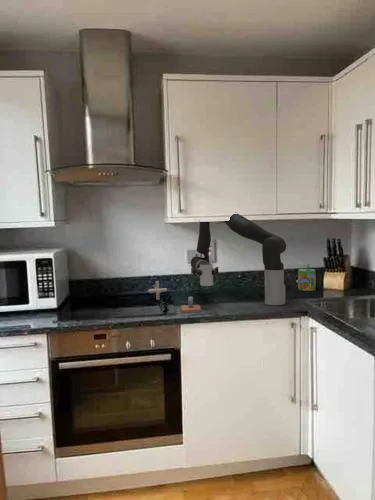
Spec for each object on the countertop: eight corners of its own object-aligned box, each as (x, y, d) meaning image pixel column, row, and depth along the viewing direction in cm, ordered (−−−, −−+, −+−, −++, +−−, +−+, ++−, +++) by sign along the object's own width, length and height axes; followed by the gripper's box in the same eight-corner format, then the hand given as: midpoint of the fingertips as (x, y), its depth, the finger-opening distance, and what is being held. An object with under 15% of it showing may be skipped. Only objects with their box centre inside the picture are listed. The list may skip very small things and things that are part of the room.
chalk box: (297, 287, 222) (297, 263, 220) (314, 288, 220) (313, 263, 218) (299, 291, 213) (299, 265, 211) (316, 291, 211) (316, 265, 209)
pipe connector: (150, 302, 197) (149, 283, 196) (147, 298, 207) (146, 280, 206) (168, 300, 200) (168, 282, 199) (165, 296, 210) (164, 279, 209)
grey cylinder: (212, 283, 182) (211, 262, 181) (213, 285, 176) (213, 264, 175) (199, 283, 181) (199, 263, 180) (201, 286, 175) (200, 265, 174)
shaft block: (199, 307, 183) (198, 294, 183) (201, 311, 175) (200, 298, 174) (181, 308, 183) (180, 295, 182) (182, 312, 174) (181, 299, 173)
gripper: (189, 261, 191) (191, 265, 175) (217, 260, 192) (222, 264, 176) (189, 275, 192) (192, 281, 176) (217, 274, 193) (222, 280, 176)
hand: (206, 273), depth 176 cm, fingers closed on grey cylinder, 6 cm apart
